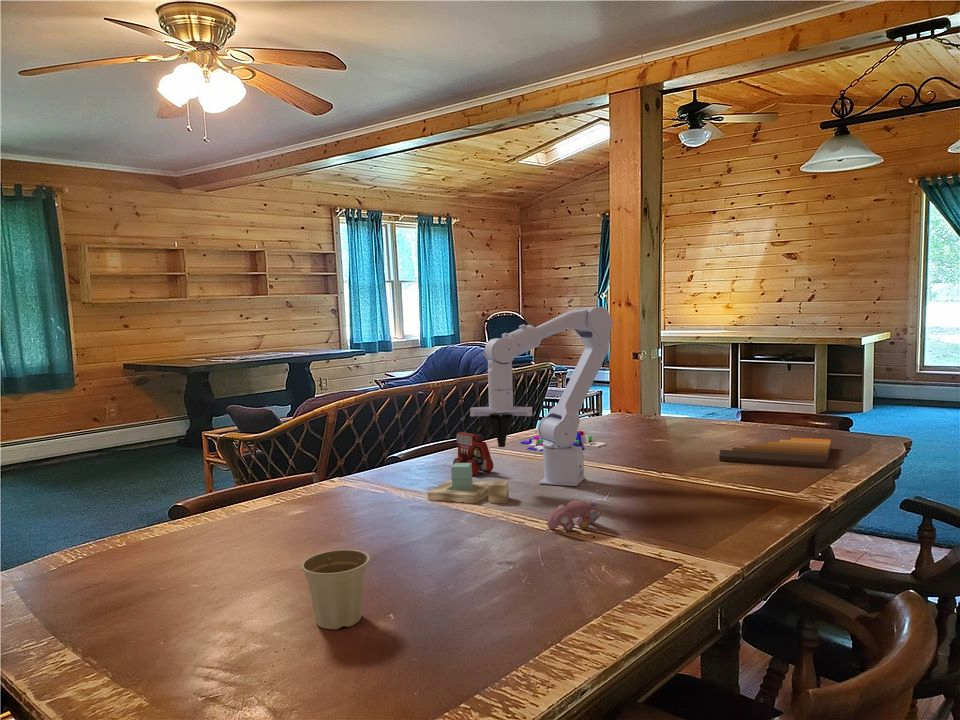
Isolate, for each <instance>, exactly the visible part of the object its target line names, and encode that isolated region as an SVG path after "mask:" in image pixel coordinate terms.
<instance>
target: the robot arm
mask: <svg viewBox="0 0 960 720" xmlns="http://www.w3.org/2000/svg"><path fill="white" fill-rule="evenodd" d="M613 326H614V323H613V319H612V317H611V315H610V312H609V311H608V310H607V308H605V307H603V306H595V307H584V306H583V307H577V308H576V309H570V310H568V311H566V312H564V313H561V314H560V315H558V316H556V317H554V318H551V319H549V320H548V321H545V322H544V323H542V324H540V325H537V326H536V327H535V326H533V325H531V324H527V325H526V324H523V323H522V324H521V325H519V326H518V329H515V330H514V331H511V332H509V333H507V332H504V333H502V334H501V338H497V337H496V338H492V339H489V340H488V342H487V343H486V344H485V347H484V350H483V356H484V357H485V359H486V361H487V383H488V384H487V385H488V386H487V388H488V406H479V407H477V406H476V407H473V406H472V407H470V408H469V410H470V411H469V416H470V417H488V420H489V423H490V425H491V427H492V429H493V431H494V434H495V437H496V440H497V446H498V448H505V447H506V441H507V436H508V433H509V428H510V427H511V424H512V421H513V419H514V417H519V416H520V417H532V416H533V406H514V396H513V395H514V393H513V391H514V390H513V389H514V388H513V387H514V386H513V363H512V362H513V361H514V360H515V357H518V356H521V355H522V354H525V353H527V352H529V351H531V350H533V349H536V348H538V347H539V346H540V345H541V341H542V340H544V339H546V338H548V337H551V336H554V335H556V334H558V333H561V332H564V331H567V330H571V329H572V330H574V331H575V333H576V334H577V335H578V337H579V338H580V340H581V341H582V343H583V346H584V350H583V351H582V354H581V356H580V358H579V360H578V362H577V364H576V366H575V368H574V370H573V372H572V374H571V376H570V379H569V381H568V382H567V383H566V384H567V385H566V386H565V387H564V388H565V389H564V390H563V393H562V395H561V397H560V398H559V400H558V403H557V404H555V405H554V406H553V407H552V408H550V409H549V411H548V413H547V414H546V415H545V416H544V417H543V418H541V420H540V421H539V423H538V426H537V431H538V436H540V437H541V438H542V439H543V452H542V453H543V473H544V477H543V478H542V479H541V480H539V481H538V484H541V485H554V486H555V485H556V486H570V487H576V486H578V485H579V484H580V483H581V482H583V480H585V479H586V476H585V463H584V461H585V460H584V457H585V456H584V449H583V450H582V448H581V447H582V446H579V447H578V446H573V442H574V441H575V439H576V437H577V431H578V428H579V425H580V423H581V420H580V417H579V411H580V410H581V408H582V406H583V403H584V401H585V399H586V397H587V396H588V393H589V391H590V390H591V387H592V385H593V383H594V381H595V379H596V377H597V375H598V373H599V371H600V368H601V366H602V365H603V363H604V360H605V358H606V357H607V354H608V353H609V350H610V338H611V337H610V335H611V330H612V327H613Z"/></svg>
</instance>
